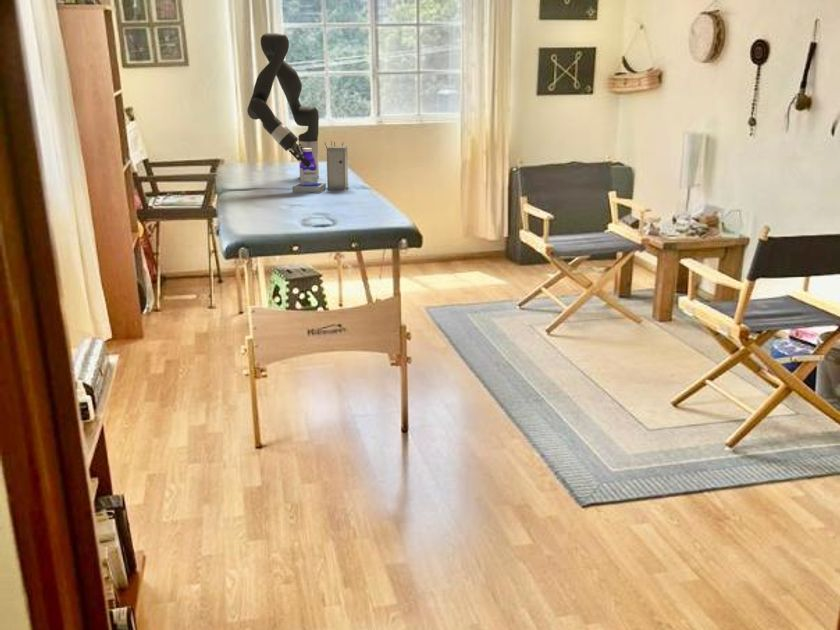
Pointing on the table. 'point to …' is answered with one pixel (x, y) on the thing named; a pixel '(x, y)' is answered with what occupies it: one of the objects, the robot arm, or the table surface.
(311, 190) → the tray
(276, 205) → the table surface
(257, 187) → the table surface
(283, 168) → the table surface
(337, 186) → the grey slotted box
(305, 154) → the bottle
